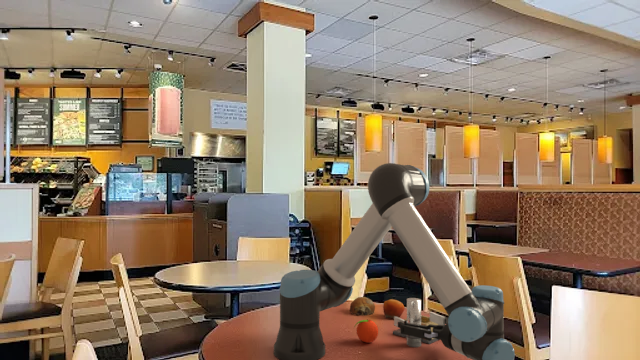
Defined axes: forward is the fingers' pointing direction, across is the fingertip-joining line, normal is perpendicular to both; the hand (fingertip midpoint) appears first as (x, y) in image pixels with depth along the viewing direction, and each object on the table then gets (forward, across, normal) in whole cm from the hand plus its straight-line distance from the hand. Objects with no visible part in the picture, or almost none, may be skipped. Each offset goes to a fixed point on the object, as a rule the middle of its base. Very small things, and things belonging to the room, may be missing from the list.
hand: (413, 318), depth 139 cm
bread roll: (+39, +4, -8) cm, 40 cm away
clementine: (+7, -13, -8) cm, 17 cm away
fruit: (+28, +12, -8) cm, 31 cm away
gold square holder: (+7, +9, -8) cm, 14 cm away
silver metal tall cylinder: (-1, 0, -8) cm, 8 cm away
